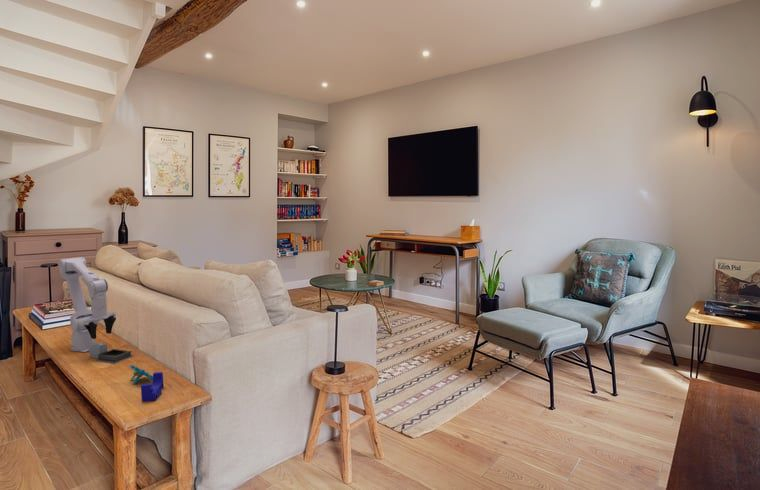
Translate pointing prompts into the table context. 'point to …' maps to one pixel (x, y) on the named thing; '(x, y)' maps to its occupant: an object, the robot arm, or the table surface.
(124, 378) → the table surface
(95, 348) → the block
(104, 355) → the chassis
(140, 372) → the teal irregular piece
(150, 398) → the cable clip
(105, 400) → the table surface
